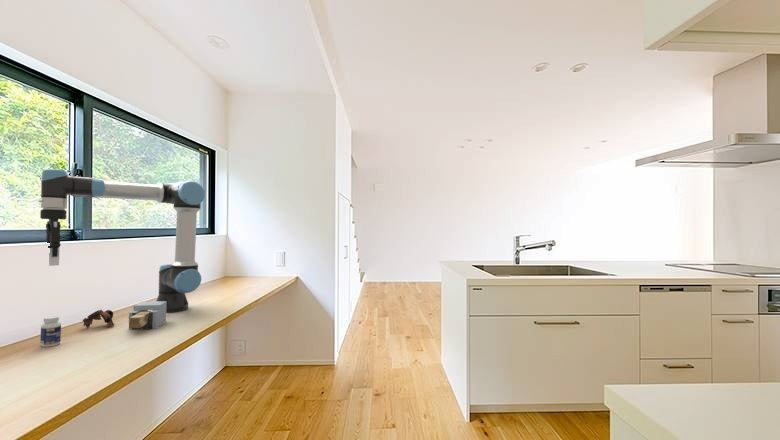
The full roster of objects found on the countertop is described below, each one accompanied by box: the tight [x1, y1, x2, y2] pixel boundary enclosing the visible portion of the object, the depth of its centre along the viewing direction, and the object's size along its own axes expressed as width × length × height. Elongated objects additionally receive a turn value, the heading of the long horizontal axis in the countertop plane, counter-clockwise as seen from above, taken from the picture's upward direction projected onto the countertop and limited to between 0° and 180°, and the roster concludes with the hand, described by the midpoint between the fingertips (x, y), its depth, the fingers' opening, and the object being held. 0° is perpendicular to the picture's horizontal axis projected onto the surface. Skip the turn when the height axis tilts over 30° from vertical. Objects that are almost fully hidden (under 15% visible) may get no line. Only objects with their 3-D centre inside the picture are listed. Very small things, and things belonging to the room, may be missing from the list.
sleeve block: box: [128, 301, 167, 331], centre depth 161 cm, size 12×10×9 cm
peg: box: [128, 310, 152, 329], centre depth 154 cm, size 12×4×4 cm, turn 13°
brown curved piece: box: [82, 309, 115, 329], centre depth 158 cm, size 12×10×8 cm
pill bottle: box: [39, 315, 62, 348], centre depth 134 cm, size 5×5×10 cm
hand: (52, 263), depth 145 cm, fingers open, 13 cm apart
